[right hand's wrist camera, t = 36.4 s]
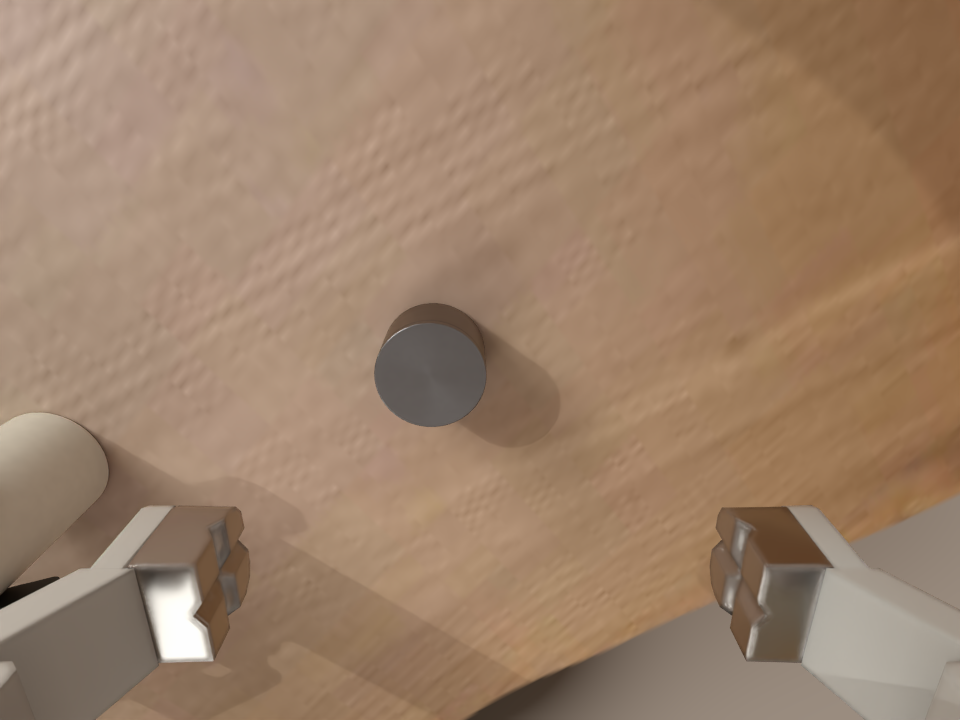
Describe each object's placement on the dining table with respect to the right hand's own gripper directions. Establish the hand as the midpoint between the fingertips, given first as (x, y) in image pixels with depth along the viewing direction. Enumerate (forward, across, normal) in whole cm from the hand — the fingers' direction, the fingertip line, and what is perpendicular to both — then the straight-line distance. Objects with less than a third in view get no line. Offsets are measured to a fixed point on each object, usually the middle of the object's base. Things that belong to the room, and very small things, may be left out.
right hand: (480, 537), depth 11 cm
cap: (+13, +2, +2) cm, 14 cm away
